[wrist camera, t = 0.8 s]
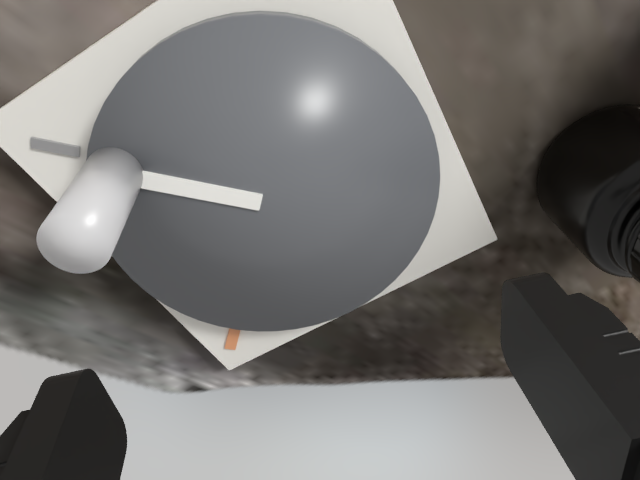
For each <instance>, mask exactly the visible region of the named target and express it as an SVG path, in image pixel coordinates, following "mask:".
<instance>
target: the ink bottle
mask: <svg viewBox="0 0 640 480" xmlns="http://www.w3.org/2000/svg"><path fill="white" fill-rule="evenodd" d="M537 193H538V198H539V201H540V204H541V206H542V208H543V210H544V212H545V213H546V214H547V216H548V217H549V218H550V219H551V220H552V221H553V222H554V223H555V224H556V225H557V226H558V228H559V229H560V230H561V231H562V232H563V233H564V234H565V235H566V236H567V237H568V238H569V239H570V240H571V241H572V243H573V244H574V245H575V246H576V247H577V248H578V249H579V250H580V251H581V252H582V253H583V254H584V255H585V256H586V258H587V259H588V260H589V261H590V262H591V263H592V264H594V265H595V266H596V267H598V268H599V269H601V270H602V271H604V272H606V273H609V274H612V275H615V276H620V277H629V278H634V279H635V280H637V281H638V282H640V106H638V105H617V106H611V107H607V108H604V109H601V110H598V111H595V112H593V113H591V114H589V115H587V116H585V117H583V118H581V119H579V120H578V121H576V122H575V123H573V124H572V125H570V126H569V127H568V128H567V129H565V130H564V131H563V132H562V133H561V134H560V135H559V136H558V137H557V138H556V139H555V140H554V142H553V143H552V144H551V146H550V147H549V149H548V150H547V152H546V154H545V156H544V158H543V160H542V163H541V166H540V169H539V173H538V179H537Z"/></svg>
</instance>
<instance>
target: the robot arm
mask: <svg viewBox="0 0 640 480" xmlns="http://www.w3.org/2000/svg"><path fill="white" fill-rule="evenodd" d="M501 347H502V351H503V355H504V358H505V361H506V363H507V365H508V367H509V369H510V371H511V373H512V374H513V376H514V378H515V379H516V381H517V383H518V384H519V386H520V388H521V389H522V391H523V393H524V394H525V396H526V398H527V399H528V401H529V403H530V404H531V406H532V408H533V409H534V411H535V413H536V414H537V416H538V418H539V419H540V421H541V423H542V424H543V426H544V428H545V429H546V431H547V433H548V434H549V436H550V438H551V439H552V441H553V443H554V444H555V446H556V448H557V449H558V451H559V453H560V454H561V456H562V458H563V459H564V461H565V463H566V464H567V466H568V468H569V469H570V471H571V472H572V474H573V475H574V477H575V479H576V480H640V341H639V340H638V339H637V338H636V337H635V336H634V335H633V334H632V333H629V332H628V330H627V328H626V326H625V325H624V324H623V323H622V322H621V321H620V320H619V319H618V318H617V317H616V316H615V315H614V314H613V313H612V312H611V311H610V310H609V309H608V308H607V307H605V306H603V305H602V304H600V303H598V302H596V301H594V300H593V299H591V298H589V297H587V296H585V295H583V294H582V293H576V294H572V295H567V294H566V293H565V292H564V290H563V289H562V288H561V287H560V286H559V285H558V284H557V283H556V281H555V280H554V279H553V278H552V277H551V276H550V275H549V274H547V273H538V274H534V275H529V276H524V277H520V278H515V279H510V280H506V281H505V282H504V284H503V287H502V309H501ZM126 448H127V434H126V428H125V424H124V422H123V419H122V417H121V415H120V413H119V412H118V410H117V408H116V407H115V405H114V403H113V401H112V400H111V398H110V396H109V395H108V393H107V391H106V389H105V388H104V386H103V384H102V383H101V381H100V379H99V377H98V376H97V374H96V373H95V372H94V371H93V370H91V369H84V370H79V371H75V372H70V373H66V374H61V375H56V376H51V377H48V378H47V379H45V380H44V382H43V383H42V385H41V387H40V389H39V391H38V394H37V396H36V398H35V400H34V403H33V405H32V407H31V409H30V410H26V411H22V412H21V413H20V414H19V415H18V416H17V417H16V418H15V420H14V421H13V422H12V423H11V424H10V425H9V427H8V428H7V429H6V430H5V431H4V432H3V434H2V435H1V436H0V480H120V476H121V472H122V468H123V463H124V459H125V454H126Z"/></svg>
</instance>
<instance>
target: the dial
mask: <svg viewBox="0 0 640 480" xmlns="http://www.w3.org/2000/svg"><path fill="white" fill-rule="evenodd" d="M439 187H440V163H439V154H438V149H437V144H436V140H435V135H434V133H433V130H432V127H431V125H430V122H429V119H428V116H427V114H426V113H425V111H424V109H423V107H422V105H421V104H420V102H419V100H418V98H417V96H416V95H415V94H414V92H413V91H412V90H411V88H410V87H409V86H408V84H407V83H406V82H405V80H404V79H403V78H402V77H401V75H400V74H399V73H398V72H397V71H396V69H395V68H394V67H393V66H392V65H391V64H390V63H389V62H388V61H387V60H386V59H384V58H383V57H382V56H381V55H380V54H379V53H378V52H377V51H376V50H374V49H373V48H372V47H370V46H369V45H367V44H366V43H365V42H363V41H362V40H361V39H359V38H357V37H356V36H354V35H352V34H350V33H348V32H346V31H344V30H342V29H340V28H339V27H337V26H334V25H331V24H328V23H326V22H323V21H320V20H317V19H315V18H312V17H307V16H302V15H297V14H292V13H288V12H274V11H248V12H235V13H230V14H225V15H221V16H216V17H212V18H207V19H205V20H202V21H200V22H197V23H194V24H192V25H189V26H187V27H184V28H182V29H180V30H178V31H177V32H175V33H173V34H171V35H170V36H168V37H166V38H164V39H162V40H161V41H160V42H158V43H157V44H156V45H154V46H153V47H152V48H151V49H149V50H148V51H147V52H146V53H144V54H143V55H142V56H141V57H140V58H139V59H138V60H137V61H136V62H135V63H134V64H133V65H132V66H131V67H130V69H129V70H128V71H127V72H126V73H125V74H124V75H123V76H122V78H121V79H120V80H119V81H118V82H117V84H116V85H115V87H114V88H113V90H112V91H111V93H110V94H109V96H108V97H107V99H106V100H105V102H104V103H103V106H102V108H101V110H100V112H99V114H98V116H97V119H96V121H95V123H94V126H93V129H92V133H91V137H90V140H89V144H88V150H87V158H86V162H85V163H84V165H83V166H82V168H81V169H80V171H79V172H78V173H77V175H76V176H75V178H74V179H73V181H72V182H71V183H70V185H69V186H68V188H67V189H66V191H65V192H64V193H63V195H62V196H61V198H60V199H59V201H58V202H57V203H56V205H55V206H54V208H53V209H52V211H51V212H50V213H49V215H48V216H47V218H46V219H45V221H44V222H43V223H42V225H41V226H40V228H39V230H38V232H37V238H36V240H37V245H38V248H39V250H40V252H41V254H42V255H43V256H44V258H45V259H46V260H47V261H48V262H50V263H51V264H52V265H54V266H55V267H57V268H59V269H62V270H64V271H67V272H71V273H78V274H84V273H91V272H94V271H97V270H99V269H101V268H102V267H104V266H105V265H106V264H107V263H108V261H109V260H110V258H111V255H112V256H113V257H114V259H115V260H116V262H117V263H118V265H119V266H120V267H121V268H122V269H123V270H124V271H125V272H126V273H127V275H128V276H129V277H130V278H131V279H132V280H133V281H134V282H135V283H137V284H138V285H139V286H140V287H141V288H142V289H144V290H145V291H146V292H147V293H148V294H150V295H151V296H153V297H154V298H156V299H157V300H159V301H160V302H162V303H163V304H165V305H167V306H168V307H170V308H172V309H174V310H176V311H178V312H180V313H182V314H184V315H186V316H189V317H191V318H194V319H196V320H199V321H202V322H205V323H209V324H212V325H216V326H220V327H225V328H230V329H236V330H245V331H257V332H260V331H284V330H293V329H299V328H304V327H309V326H313V325H317V324H320V323H323V322H326V321H330V320H333V319H335V318H337V317H340V316H342V315H344V314H347V313H349V312H351V311H353V310H355V309H356V308H358V307H360V306H362V305H364V304H365V303H367V302H368V301H370V300H371V299H373V298H374V297H375V296H377V295H378V294H380V293H381V292H382V291H383V290H385V289H386V288H387V287H388V286H389V285H390V284H391V283H392V282H394V281H395V280H396V279H397V278H398V276H399V275H400V274H401V273H402V272H403V271H404V270H405V269H406V268H407V266H408V265H409V264H410V262H411V261H412V259H413V258H414V257H415V255H416V254H417V252H418V251H419V249H420V247H421V245H422V244H423V242H424V240H425V238H426V236H427V234H428V232H429V229H430V226H431V224H432V221H433V218H434V215H435V211H436V207H437V202H438V198H439Z"/></svg>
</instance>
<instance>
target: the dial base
mask: <svg viewBox="0 0 640 480" xmlns="http://www.w3.org/2000/svg"><path fill="white" fill-rule="evenodd" d="M248 11H274V12H288V13H292V14H297V15H302V16H307V17H312V18H315V19H317V20H320V21H323V22H326V23H328V24H331V25H334V26H337V27H339V28H340V29H342V30H344V31H346V32H348V33H350V34H352V35H354V36H356V37H357V38H359V39H361V40H362V41H363V42H365V43H366V44H367V45H369V46H370V47H372V48H373V49H374V50H376V51H377V52H378V53H379V54H380V55H381V56H382V57H383V58H384V59H386V60H387V61H388V62H389V63H390V64H391V65H392V66H393V67H394V68H395V69H396V71H397V72H398V73H399V74H400V75H401V77H402V78H403V79H404V80H405V82H406V83H407V84H408V86H409V87H410V88H411V90H412V91H413V92H414V94H415V95H416V96H417V98H418V100H419V102H420V104H421V105H422V107H423V109H424V111H425V113H426V114H427V116H428V119H429V122H430V125H431V127H432V130H433V133H434V135H435V140H436V144H437V149H438V154H439V163H440V187H439V198H438V202H437V207H436V211H435V215H434V218H433V221H432V224H431V226H430V229H429V232H428V234H427V236H426V238H425V240H424V242H423V244H422V245H421V247H420V249H419V251H418V252H417V254H416V255H415V257H414V258H413V259H412V261H411V262H410V264H409V265H408V266H407V268H406V269H405V270H404V271H403V272H402V273H401V274H400V275H399V276H398V278H397V279H396V280H395V281H394V282H392V283H391V284H390V285H389V286H388V287H387V288H386V289H385V290H383V291H382V292H381V293H380V294H378V295H377V296H375V297H374V298H373V299H371V300H370V301H372V300H375V299H377V298H379V297H381V296H383V295H385V294H387V293H389V292H391V291H393V290H395V289H397V288H399V287H401V286H403V285H405V284H407V283H409V282H411V281H413V280H416V279H418V278H420V277H422V276H424V275H426V274H428V273H430V272H432V271H434V270H436V269H438V268H440V267H442V266H444V265H446V264H448V263H450V262H452V261H454V260H456V259H459V258H461V257H463V256H465V255H467V254H469V253H471V252H473V251H475V250H477V249H479V248H481V247H483V246H485V245H487V244H489V243H491V242H493V241H495V240H497V237H496V234H495V232H494V230H493V228H492V225H491V223H490V221H489V218H488V216H487V214H486V212H485V209H484V207H483V205H482V202H481V200H480V198H479V196H478V193H477V191H476V189H475V187H474V184H473V182H472V180H471V177H470V175H469V173H468V171H467V168H466V166H465V164H464V161H463V159H462V157H461V155H460V152H459V150H458V148H457V146H456V143H455V141H454V139H453V136H452V134H451V132H450V130H449V127H448V125H447V123H446V120H445V118H444V116H443V114H442V111H441V109H440V107H439V105H438V102H437V100H436V98H435V95H434V93H433V91H432V89H431V86H430V84H429V82H428V79H427V77H426V75H425V73H424V70H423V68H422V66H421V64H420V61H419V59H418V57H417V54H416V52H415V50H414V48H413V45H412V43H411V41H410V38H409V36H408V34H407V32H406V29H405V27H404V25H403V23H402V20H401V18H400V16H399V13H398V11H397V9H396V7H395V4H394V2H393V0H157V1H155V2H154V3H152V4H151V5H149V6H148V7H146V8H145V9H144V10H142V11H141V12H139V13H138V14H136V15H135V16H133V17H132V18H130V19H129V20H128V21H126V22H125V23H123V24H122V25H120V26H119V27H117V28H116V29H114V30H113V31H112V32H110V33H109V34H107V35H106V36H104V37H103V38H101V39H100V40H99V41H97V42H96V43H94V44H93V45H91V46H90V47H88V48H87V49H85V50H84V51H83V52H81V53H80V54H78V55H77V56H75V57H74V58H72V59H71V60H69V61H68V62H67V63H65V64H64V65H62V66H61V67H59V68H58V69H56V70H55V71H54V72H52V73H51V74H49V75H48V76H46V77H45V78H43V79H42V80H40V81H39V82H38V83H36V84H35V85H33V86H32V87H30V88H29V89H27V90H26V91H24V92H23V93H22V94H20V95H19V96H17V97H16V98H14V99H13V100H11V101H10V102H9V103H7V104H6V105H4V106H3V107H1V108H0V147H1V148H2V149H3V150H4V151H5V152H6V153H7V154H8V155H9V156H10V157H11V158H12V159H13V160H14V161H15V162H16V163H17V164H18V165H20V166H21V167H22V168H23V169H24V170H25V171H26V172H27V173H28V174H29V175H30V176H31V177H32V178H33V179H34V180H35V181H36V182H37V183H38V184H39V185H40V186H41V187H42V188H43V189H44V190H45V191H46V192H47V193H48V194H49V195H50V196H51V197H52V198H53V199H54V200H55V201H56V202H58V201H59V199H60V198H61V196H62V195H63V193H64V192H65V191H66V189H67V188H68V186H69V185H70V183H71V182H72V181H73V179H74V178H75V176H76V175H77V173H78V172H79V171H80V169H81V168H82V166H83V165H84V163H85V162H86V158H87V150H88V144H89V140H90V137H91V133H92V129H93V126H94V123H95V121H96V119H97V116H98V114H99V112H100V110H101V108H102V106H103V103H104V102H105V100H106V99H107V97H108V96H109V94H110V93H111V91H112V90H113V88H114V87H115V85H116V84H117V82H118V81H119V80H120V79H121V78H122V76H123V75H124V74H125V73H126V72H127V71H128V70H129V69H130V67H131V66H132V65H133V64H134V63H135V62H136V61H137V60H138V59H139V58H140V57H141V56H142V55H143V54H144V53H146V52H147V51H148V50H149V49H151V48H152V47H153V46H154V45H156V44H157V43H158V42H160V41H161V40H162V39H164V38H166V37H168V36H170V35H171V34H173V33H175V32H177V31H178V30H180V29H182V28H184V27H187V26H189V25H192V24H194V23H197V22H200V21H202V20H205V19H207V18H212V17H216V16H221V15H225V14H230V13H235V12H248ZM158 301H159V300H158ZM370 301H368V302H370ZM159 302H160V301H159ZM368 302H367V303H368ZM160 303H161V304H162V305H163V306H164V307H165V308H166V309H167V310H168V311H169V312H170V313H171V314H172V315H173V316H174V317H175V318H176V319H177V320H178V321H179V322H180V323H181V324H182V325H183V326H184V327H185V328H186V329H187V330H188V331H189V332H190V333H191V334H192V335H193V336H194V337H195V338H196V339H197V340H199V341H200V342H201V343H202V344H203V345H204V346H205V347H206V348H207V349H208V350H209V351H210V352H211V353H212V354H213V355H214V356H215V357H216V358H217V359H218V360H219V361H220V362H221V363H222V364H223V365H224V366H225V367H226V368H227V369H228V370H231V369H233V368H235V367H237V366H239V365H241V364H243V363H245V362H248V361H250V360H252V359H254V358H256V357H258V356H260V355H262V354H264V353H266V352H268V351H270V350H272V349H274V348H276V347H278V346H280V345H282V344H284V343H286V342H288V341H291V340H293V339H295V338H297V337H299V336H301V335H303V334H305V333H307V332H309V331H311V330H313V329H315V328H317V327H319V326H321V325H323V324H325V323H327V322H329V321H326V322H323V323H320V324H317V325H313V326H309V327H304V328H299V329H293V330H284V331H260V332H257V331H245V330H236V329H230V328H225V327H220V326H216V325H212V324H209V323H205V322H202V321H199V320H196V319H194V318H191V317H189V316H186V315H184V314H182V313H180V312H178V311H176V310H174V309H172V308H170V307H168V306H167V305H165V304H163V303H162V302H160ZM365 304H366V303H365ZM337 318H338V317H337ZM335 319H336V318H335ZM333 320H334V319H333ZM330 321H332V320H330Z"/></svg>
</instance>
